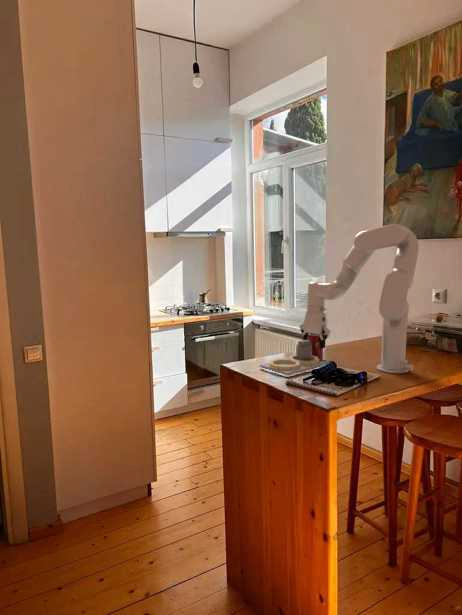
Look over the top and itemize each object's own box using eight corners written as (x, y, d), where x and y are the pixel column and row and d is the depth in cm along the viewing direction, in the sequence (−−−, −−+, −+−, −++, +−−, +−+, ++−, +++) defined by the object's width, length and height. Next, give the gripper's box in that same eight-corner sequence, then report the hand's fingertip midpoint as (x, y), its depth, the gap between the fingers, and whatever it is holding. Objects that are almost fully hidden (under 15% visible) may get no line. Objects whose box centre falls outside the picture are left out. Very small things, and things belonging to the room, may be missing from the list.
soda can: (304, 360, 208) (305, 334, 206) (309, 356, 214) (310, 331, 212) (320, 362, 204) (320, 336, 203) (324, 358, 211) (325, 333, 209)
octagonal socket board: (328, 367, 197) (328, 359, 196) (287, 377, 181) (287, 369, 180) (300, 359, 209) (300, 352, 208) (259, 369, 193) (260, 361, 193)
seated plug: (314, 361, 198) (315, 341, 197) (304, 364, 194) (304, 343, 192) (303, 358, 203) (303, 338, 202) (293, 361, 199) (293, 340, 198)
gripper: (336, 310, 202) (334, 348, 204) (306, 305, 215) (305, 341, 218) (325, 312, 197) (323, 351, 200) (295, 307, 210) (294, 343, 213)
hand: (313, 346), depth 209 cm, fingers open, 9 cm apart
